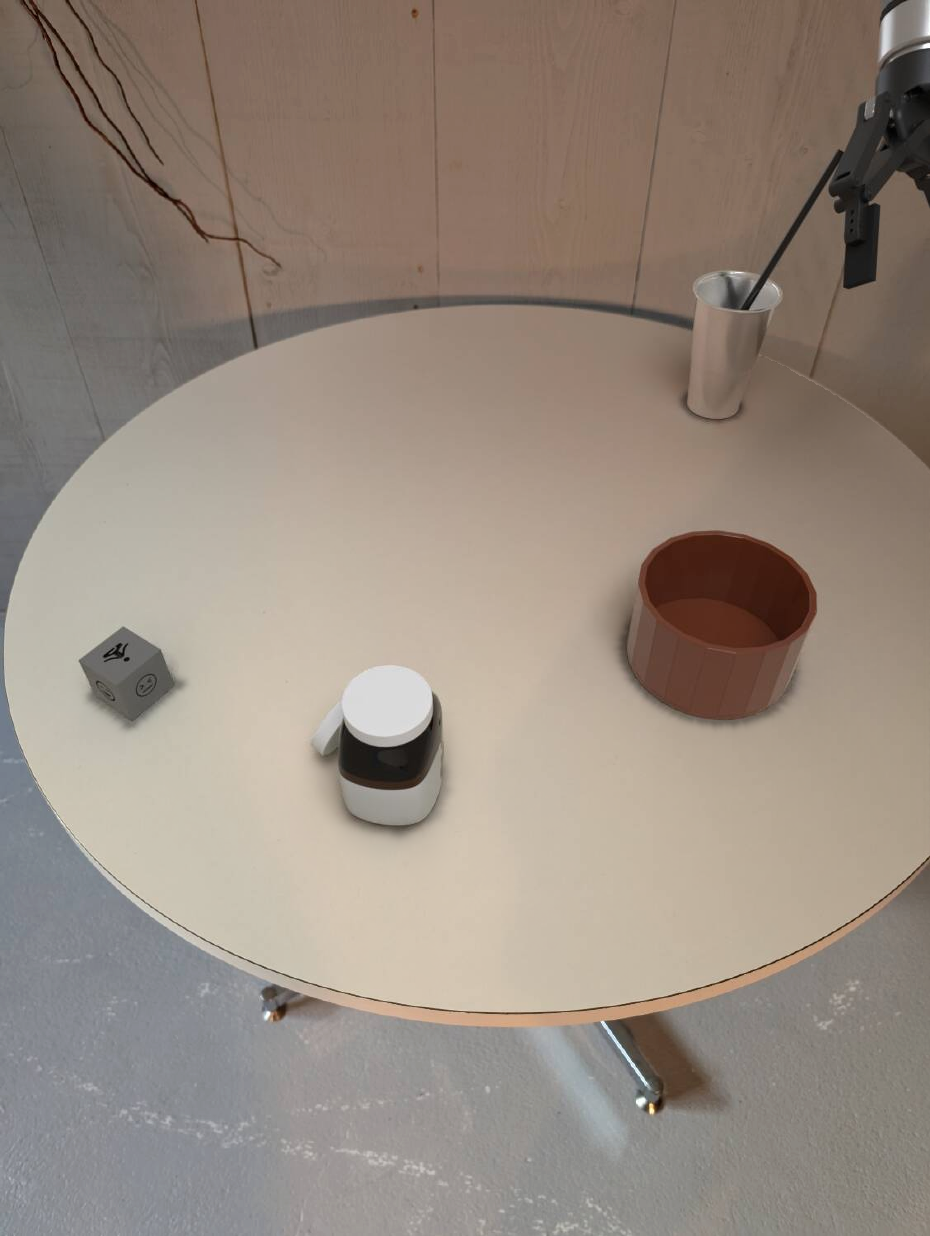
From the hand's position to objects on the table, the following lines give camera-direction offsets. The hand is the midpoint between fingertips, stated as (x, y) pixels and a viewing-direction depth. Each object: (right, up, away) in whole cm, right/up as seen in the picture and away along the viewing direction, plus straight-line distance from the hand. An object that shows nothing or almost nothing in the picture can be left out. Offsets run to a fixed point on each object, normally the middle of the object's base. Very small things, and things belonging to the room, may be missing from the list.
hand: (906, 302), depth 83 cm
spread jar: (-48, -42, -5) cm, 64 cm away
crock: (-17, -32, +3) cm, 37 cm away
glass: (-8, -2, +33) cm, 34 cm away
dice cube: (-71, -36, +1) cm, 79 cm away
